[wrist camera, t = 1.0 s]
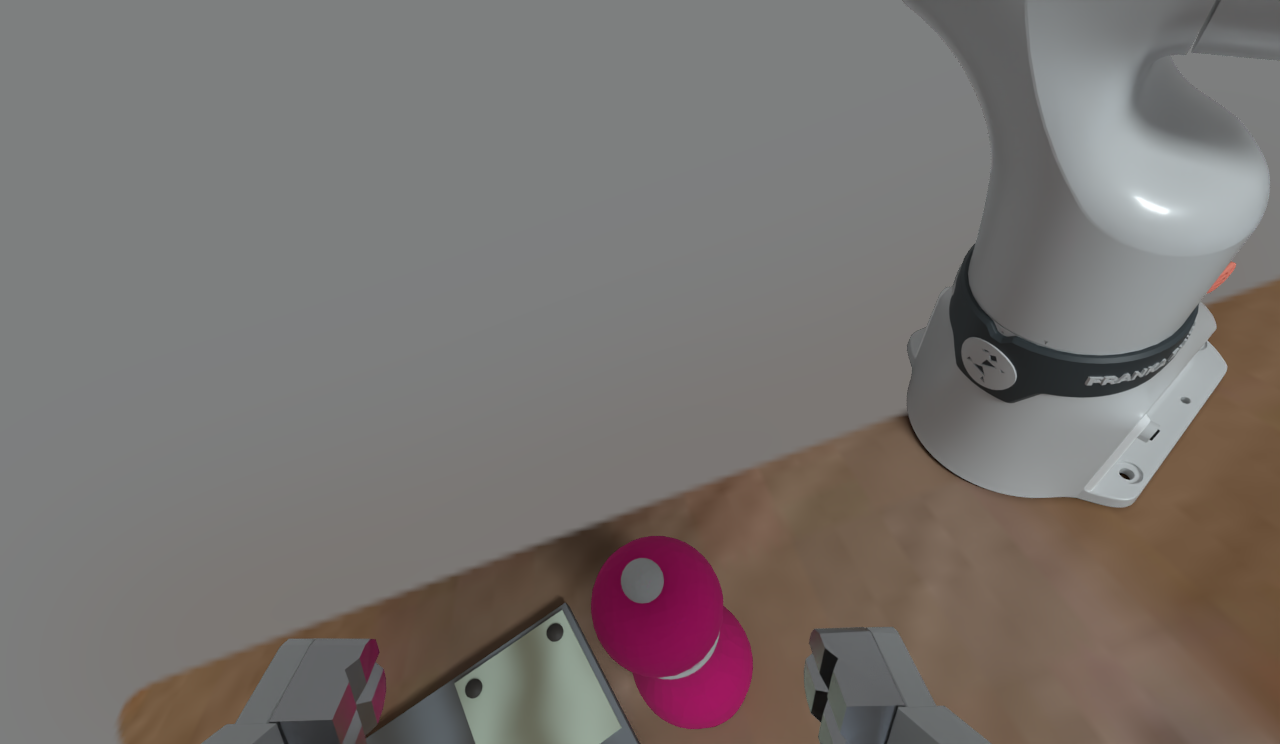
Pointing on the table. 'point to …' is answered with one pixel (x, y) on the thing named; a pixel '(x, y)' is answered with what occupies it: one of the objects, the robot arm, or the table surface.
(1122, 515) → the table surface
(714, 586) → the pepper mill
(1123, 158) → the robot arm
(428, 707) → the tile board
